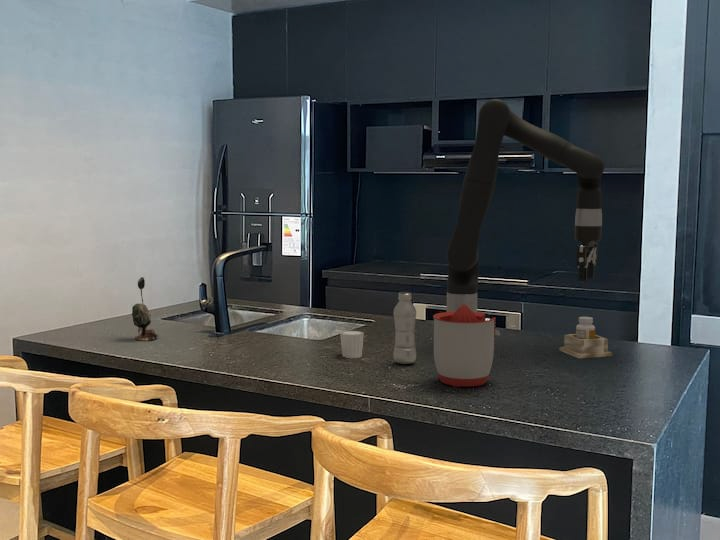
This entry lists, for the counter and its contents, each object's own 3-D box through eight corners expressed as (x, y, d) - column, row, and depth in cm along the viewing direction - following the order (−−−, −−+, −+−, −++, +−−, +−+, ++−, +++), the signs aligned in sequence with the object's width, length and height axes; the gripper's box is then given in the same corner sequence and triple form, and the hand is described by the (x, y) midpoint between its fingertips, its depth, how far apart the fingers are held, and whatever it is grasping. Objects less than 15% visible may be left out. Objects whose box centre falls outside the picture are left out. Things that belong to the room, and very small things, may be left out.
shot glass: (367, 354, 226) (367, 331, 225) (357, 359, 219) (357, 335, 219) (346, 352, 228) (346, 329, 228) (336, 357, 222) (336, 333, 221)
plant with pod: (124, 341, 245) (122, 279, 242) (144, 335, 255) (142, 275, 253) (146, 343, 242) (144, 280, 240) (165, 336, 253) (164, 276, 251)
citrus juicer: (511, 387, 189) (513, 307, 187) (446, 392, 185) (447, 310, 182) (483, 372, 204) (485, 298, 202) (423, 377, 199) (423, 301, 197)
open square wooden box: (578, 358, 221) (579, 341, 220) (559, 350, 231) (559, 334, 231) (612, 356, 223) (612, 339, 223) (591, 348, 234) (592, 332, 233)
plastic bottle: (418, 361, 216) (419, 291, 214) (412, 367, 210) (413, 295, 208) (397, 360, 219) (397, 290, 216) (390, 365, 212) (390, 294, 210)
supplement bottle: (592, 348, 229) (593, 316, 228) (596, 352, 224) (597, 319, 223) (574, 348, 230) (574, 316, 229) (577, 351, 225) (578, 319, 224)
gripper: (595, 225, 215) (593, 282, 217) (607, 223, 228) (605, 277, 229) (568, 224, 219) (566, 281, 221) (581, 222, 231) (579, 276, 233)
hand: (586, 279), depth 225 cm, fingers open, 8 cm apart
